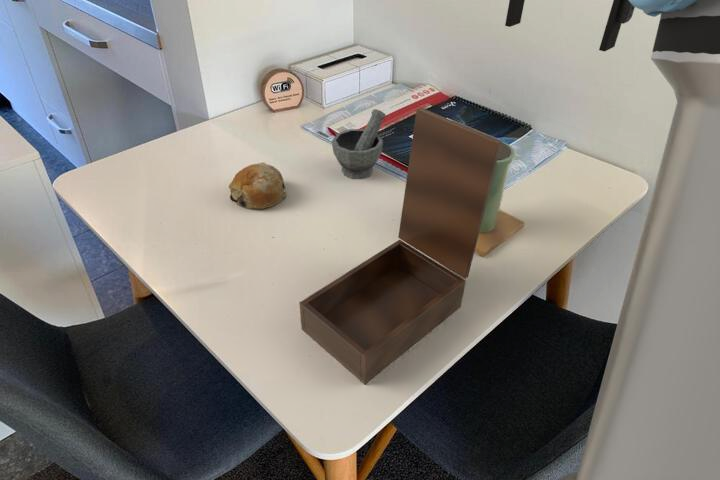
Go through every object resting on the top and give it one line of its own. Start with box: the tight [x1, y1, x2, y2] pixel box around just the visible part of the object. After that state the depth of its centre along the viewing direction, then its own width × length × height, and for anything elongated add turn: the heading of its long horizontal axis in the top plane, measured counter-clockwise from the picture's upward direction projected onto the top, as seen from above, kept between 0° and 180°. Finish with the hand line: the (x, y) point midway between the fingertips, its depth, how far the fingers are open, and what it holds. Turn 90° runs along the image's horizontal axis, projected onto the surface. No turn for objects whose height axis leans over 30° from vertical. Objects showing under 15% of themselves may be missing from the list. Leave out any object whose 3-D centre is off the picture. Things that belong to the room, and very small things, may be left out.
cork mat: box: [474, 209, 525, 258], centre depth 91 cm, size 12×12×1 cm
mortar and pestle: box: [331, 108, 387, 180], centre depth 102 cm, size 11×9×12 cm
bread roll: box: [228, 162, 288, 210], centre depth 96 cm, size 10×10×8 cm
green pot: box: [479, 140, 516, 233], centre depth 86 cm, size 8×8×14 cm
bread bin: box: [299, 239, 467, 385], centre depth 73 cm, size 20×13×5 cm, turn 134°
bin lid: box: [398, 106, 503, 280], centre depth 71 cm, size 20×13×5 cm
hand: (557, 36), depth 69 cm, fingers open, 13 cm apart
